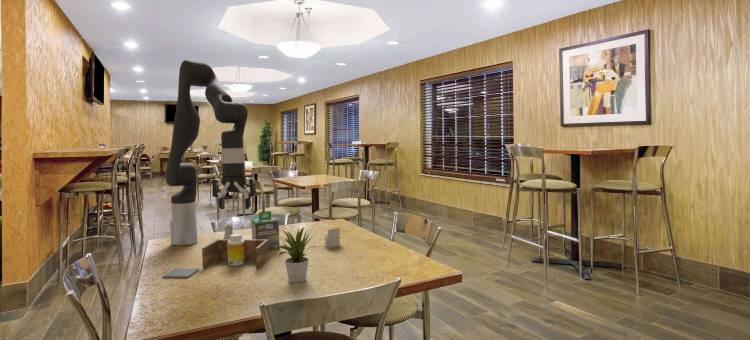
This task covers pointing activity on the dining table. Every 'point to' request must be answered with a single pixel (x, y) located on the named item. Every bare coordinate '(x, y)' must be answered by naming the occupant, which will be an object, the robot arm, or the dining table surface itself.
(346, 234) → the dining table surface
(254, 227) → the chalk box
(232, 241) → the supplement bottle
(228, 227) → the flask
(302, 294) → the dining table surface
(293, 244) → the house plant
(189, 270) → the grey pad
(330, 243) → the architectural model
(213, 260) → the walnut box
